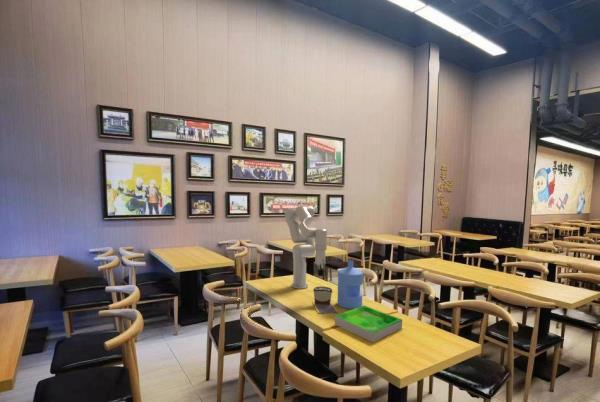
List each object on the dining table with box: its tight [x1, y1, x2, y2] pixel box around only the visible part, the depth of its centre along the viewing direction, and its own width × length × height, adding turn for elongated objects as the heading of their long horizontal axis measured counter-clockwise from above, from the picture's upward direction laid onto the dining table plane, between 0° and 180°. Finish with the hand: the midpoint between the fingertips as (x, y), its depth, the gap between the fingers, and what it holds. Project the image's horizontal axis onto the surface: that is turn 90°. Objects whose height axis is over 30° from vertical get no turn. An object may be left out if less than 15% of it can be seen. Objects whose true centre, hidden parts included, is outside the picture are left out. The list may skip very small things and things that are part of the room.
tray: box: [334, 305, 403, 343], centre depth 162 cm, size 25×25×5 cm
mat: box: [311, 301, 339, 315], centre depth 187 cm, size 18×12×1 cm, turn 9°
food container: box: [312, 286, 333, 306], centre depth 192 cm, size 12×6×10 cm, turn 85°
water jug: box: [337, 259, 364, 310], centre depth 192 cm, size 16×16×28 cm
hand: (320, 275), depth 200 cm, fingers closed
